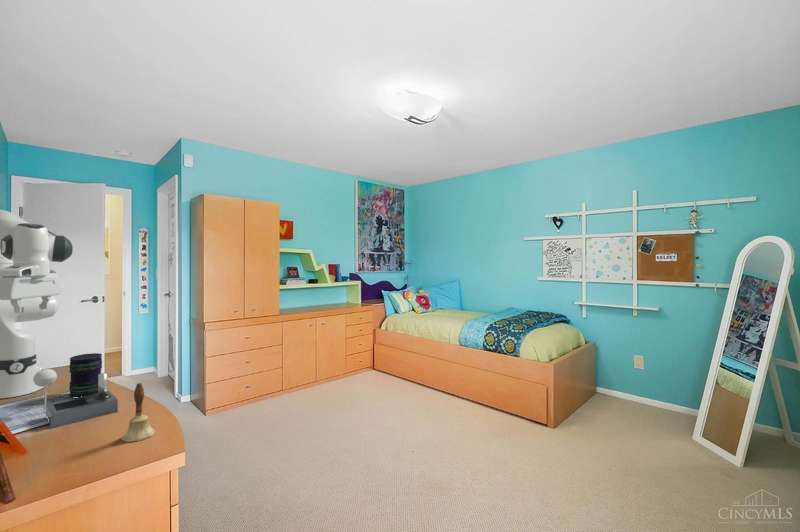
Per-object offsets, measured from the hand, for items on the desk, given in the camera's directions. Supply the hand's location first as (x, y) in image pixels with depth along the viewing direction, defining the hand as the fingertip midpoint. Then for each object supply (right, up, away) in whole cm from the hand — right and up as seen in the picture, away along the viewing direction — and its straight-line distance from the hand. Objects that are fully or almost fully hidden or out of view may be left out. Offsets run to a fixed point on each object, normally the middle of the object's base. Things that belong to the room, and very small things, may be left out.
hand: (31, 310), depth 126 cm
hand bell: (+47, -37, -14) cm, 61 cm away
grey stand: (+17, -36, 0) cm, 40 cm away
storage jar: (+2, -36, +20) cm, 41 cm away
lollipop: (+3, -36, +2) cm, 36 cm away
